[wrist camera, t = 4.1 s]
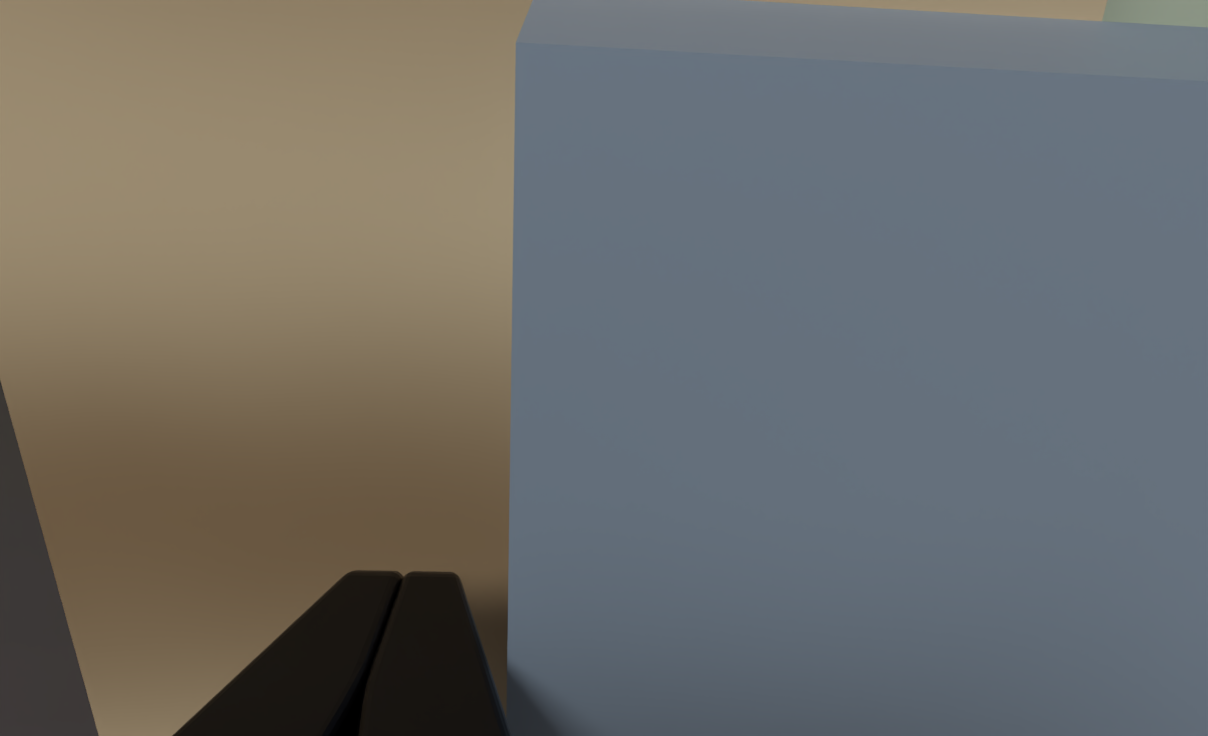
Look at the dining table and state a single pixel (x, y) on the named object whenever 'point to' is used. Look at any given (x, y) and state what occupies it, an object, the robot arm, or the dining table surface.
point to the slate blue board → (857, 373)
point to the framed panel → (264, 314)
